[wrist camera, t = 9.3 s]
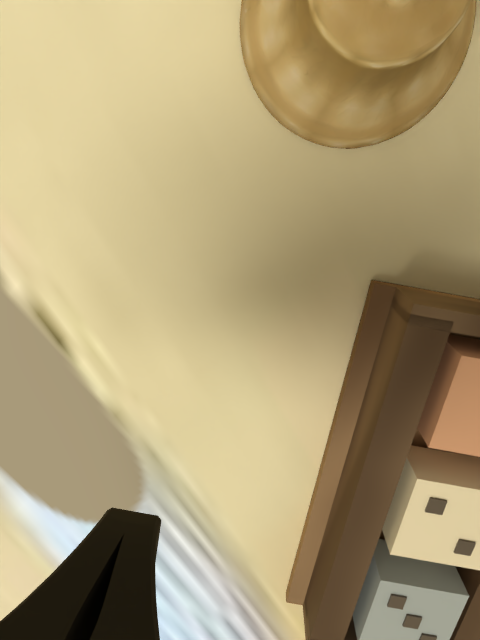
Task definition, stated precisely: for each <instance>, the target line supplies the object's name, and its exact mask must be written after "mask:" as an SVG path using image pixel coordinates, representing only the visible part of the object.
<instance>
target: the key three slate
mask: <svg viewBox="0 0 480 640" xmlns="http://www.w3.org/2000/svg"><path fill="white" fill-rule="evenodd" d="M468 598H469V594H468V592H467V590H466V588H465V586H464V584H463V582H462V580H461V577H460V575H459V573H458V571H457V569H456V567H455V566H452V565H447V564H441V563H435V562H430V561H424V560H418V559H413V558H407V557H402V556H396V555H390V553H389V550H388V546H387V543H386V540H383V539H379V540H378V543H377V546H376V549H375V552H374V554H373V557H372V560H371V563H370V566H369V569H368V572H367V575H366V578H365V581H364V583H363V586H362V589H361V592H360V595H359V598H358V601H357V604H356V607H355V610H354V612H353V621H354V626H355V631H356V636H357V640H450V638H451V635H452V633H453V631H454V629H455V627H456V624H457V622H458V620H459V618H460V616H461V613H462V611H463V609H464V607H465V604H466V602H467V600H468Z"/></svg>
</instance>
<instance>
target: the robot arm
mask: <svg viewBox="0 0 480 640" xmlns="http://www.w3.org/2000/svg"><path fill="white" fill-rule="evenodd" d="M160 526H161V519H160V518H159V517H158V516H156V515H150V514H145V513H139V512H133V511H128V510H122V509H116V508H111V509H109V510H107V511H106V513H105V514H104V515H103V517H102V518H101V519H100V521H99V522H98V523H97V524H96V526H95V527H94V528H93V529H92V530H91V532H90V533H89V534H88V535H87V536H86V537H85V539H84V540H83V541H82V542H81V543H80V544H79V545H78V546H77V548H76V549H75V550H74V551H73V552H72V553H71V554H70V555H69V556H68V557H67V558H66V559H65V560H64V561H63V562H62V564H61V565H60V566H59V567H58V568H57V569H56V570H55V571H54V572H53V573H52V574H51V575H50V576H49V577H48V578H47V579H46V580H45V581H44V582H43V583H42V584H41V585H40V586H38V587H37V588H36V589H35V590H34V591H33V592H32V593H31V594H30V595H29V596H28V597H27V598H26V599H25V600H24V601H23V602H22V603H21V604H19V605H18V606H17V607H16V608H15V609H14V610H13V611H12V612H10V613H9V614H8V615H7V616H6V617H5V618H4V619H2V620H1V621H0V640H160V637H159V628H158V618H157V606H156V585H155V561H156V554H157V547H158V540H159V533H160Z"/></svg>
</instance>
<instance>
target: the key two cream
mask: <svg viewBox="0 0 480 640" xmlns="http://www.w3.org/2000/svg"><path fill="white" fill-rule="evenodd" d="M382 531H383V534H384V537H385V540H386V543H387V546H388V550H389V553H390V555H396V556H402V557H407V558H413V559H418V560H424V561H430V562H435V563H441V564H447V565H452V566H458V567H463V568H469V569H475V570H480V458H479V457H474V456H468V455H463V454H457V453H451V452H446V451H440V450H435V449H429V448H424V447H418V446H412V445H411V447H410V450H409V453H408V456H407V459H406V462H405V465H404V467H403V470H402V473H401V476H400V479H399V482H398V485H397V488H396V491H395V494H394V496H393V499H392V502H391V505H390V508H389V511H388V514H387V517H386V520H385V523H384V525H383V528H382Z"/></svg>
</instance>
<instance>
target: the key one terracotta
mask: <svg viewBox="0 0 480 640" xmlns="http://www.w3.org/2000/svg"><path fill="white" fill-rule="evenodd" d="M417 429H418V430H419V432H420V434H421V435H422V437H423V439H424V441H425V442H426V444H427V446H428V448H433V449H439V450H444V451H450V452H456V453H461V454H467V455H472V456H478V457H480V340H478V339H473V338H467V337H462V336H456V335H451V334H449V337H448V340H447V343H446V346H445V349H444V351H443V354H442V357H441V360H440V363H439V366H438V369H437V372H436V375H435V378H434V380H433V383H432V386H431V389H430V392H429V395H428V398H427V401H426V404H425V407H424V409H423V412H422V415H421V418H420V421H419V424H418V427H417Z"/></svg>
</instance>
